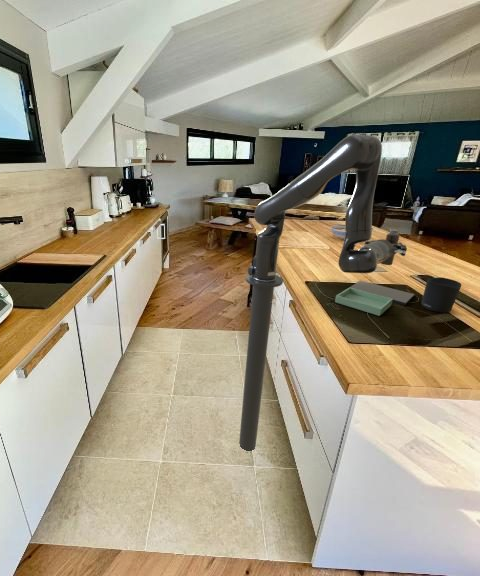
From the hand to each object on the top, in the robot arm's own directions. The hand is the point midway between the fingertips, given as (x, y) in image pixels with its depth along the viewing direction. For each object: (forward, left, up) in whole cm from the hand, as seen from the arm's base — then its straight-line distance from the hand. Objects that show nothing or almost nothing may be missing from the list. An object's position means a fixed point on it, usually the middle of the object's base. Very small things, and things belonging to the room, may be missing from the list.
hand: (392, 244), depth 116 cm
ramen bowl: (-48, +86, -20) cm, 100 cm away
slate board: (0, 0, -20) cm, 20 cm away
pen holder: (+18, 0, -20) cm, 27 cm away
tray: (-1, -16, -20) cm, 26 cm away
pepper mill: (0, -3, -7) cm, 8 cm away
